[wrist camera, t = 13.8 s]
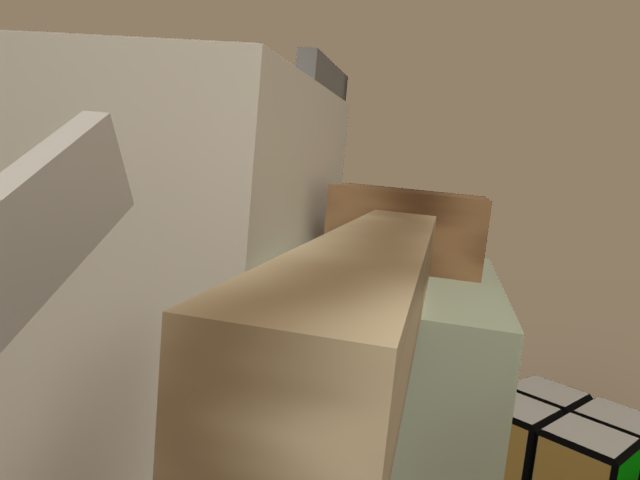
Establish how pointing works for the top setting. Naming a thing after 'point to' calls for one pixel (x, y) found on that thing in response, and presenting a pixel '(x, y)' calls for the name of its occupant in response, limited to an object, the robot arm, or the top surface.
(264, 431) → the mallet
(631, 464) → the puzzle cube
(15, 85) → the stepped plinth
